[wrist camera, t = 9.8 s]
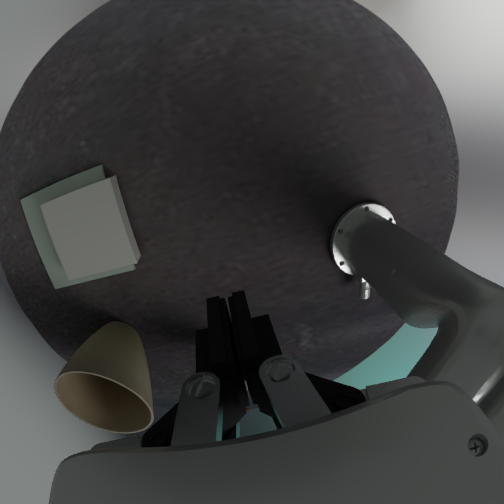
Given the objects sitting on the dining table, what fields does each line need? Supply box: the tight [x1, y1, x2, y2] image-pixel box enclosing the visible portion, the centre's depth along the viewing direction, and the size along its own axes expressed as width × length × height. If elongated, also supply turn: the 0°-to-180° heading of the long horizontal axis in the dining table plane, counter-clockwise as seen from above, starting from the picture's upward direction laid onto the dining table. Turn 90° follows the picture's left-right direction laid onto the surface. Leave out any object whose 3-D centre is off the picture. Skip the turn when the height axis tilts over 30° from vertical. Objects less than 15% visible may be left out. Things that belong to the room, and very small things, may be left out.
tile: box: [40, 175, 141, 280], centre depth 34 cm, size 12×3×12 cm
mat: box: [20, 165, 135, 289], centre depth 35 cm, size 16×16×1 cm
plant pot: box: [54, 321, 154, 433], centre depth 36 cm, size 15×15×16 cm
